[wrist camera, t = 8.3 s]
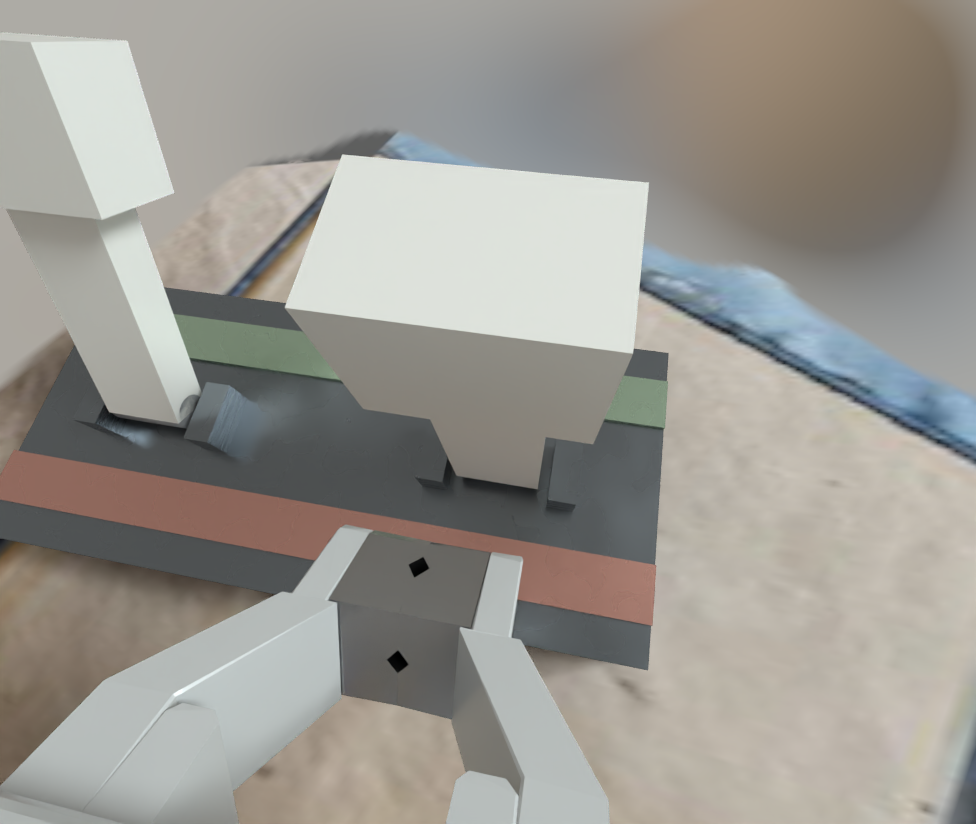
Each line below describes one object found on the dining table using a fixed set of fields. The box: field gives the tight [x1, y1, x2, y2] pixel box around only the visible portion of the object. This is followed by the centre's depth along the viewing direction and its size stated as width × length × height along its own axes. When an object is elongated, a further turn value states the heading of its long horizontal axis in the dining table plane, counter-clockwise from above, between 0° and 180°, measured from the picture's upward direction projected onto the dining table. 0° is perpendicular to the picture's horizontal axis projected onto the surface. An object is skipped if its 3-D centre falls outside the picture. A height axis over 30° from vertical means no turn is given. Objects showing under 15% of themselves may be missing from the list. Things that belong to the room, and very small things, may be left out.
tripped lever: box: [285, 155, 649, 489], centre depth 14 cm, size 3×5×13 cm, turn 79°
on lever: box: [0, 32, 202, 429], centre depth 17 cm, size 3×5×13 cm
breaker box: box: [0, 287, 668, 670], centre depth 22 cm, size 12×26×5 cm, turn 79°
